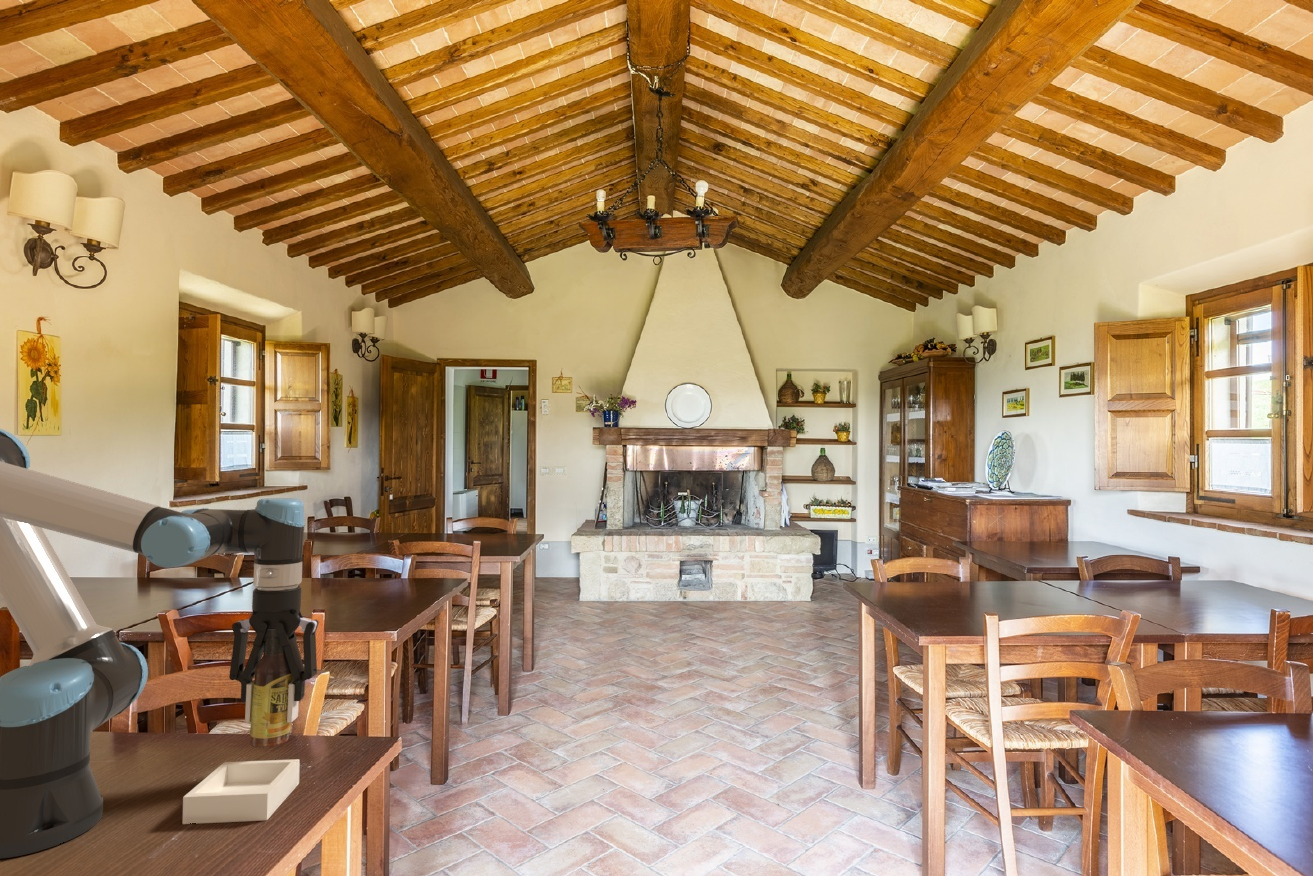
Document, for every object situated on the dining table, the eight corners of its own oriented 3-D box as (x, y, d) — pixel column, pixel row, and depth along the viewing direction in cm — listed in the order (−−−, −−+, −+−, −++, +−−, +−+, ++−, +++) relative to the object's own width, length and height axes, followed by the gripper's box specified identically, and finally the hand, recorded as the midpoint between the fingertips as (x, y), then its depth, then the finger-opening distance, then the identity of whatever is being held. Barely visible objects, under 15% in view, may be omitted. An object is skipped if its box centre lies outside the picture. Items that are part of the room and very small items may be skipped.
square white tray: (182, 824, 104) (183, 797, 104) (223, 786, 116) (224, 762, 116) (267, 820, 105) (267, 793, 105) (299, 783, 117) (299, 759, 117)
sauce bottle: (272, 752, 117) (277, 633, 118) (240, 748, 118) (245, 630, 119) (299, 737, 123) (304, 624, 124) (269, 733, 125) (274, 622, 125)
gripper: (208, 590, 117) (201, 728, 116) (326, 590, 119) (321, 727, 118) (230, 582, 124) (224, 712, 124) (341, 583, 126) (336, 711, 126)
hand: (271, 719), depth 121 cm, fingers closed on sauce bottle, 6 cm apart
